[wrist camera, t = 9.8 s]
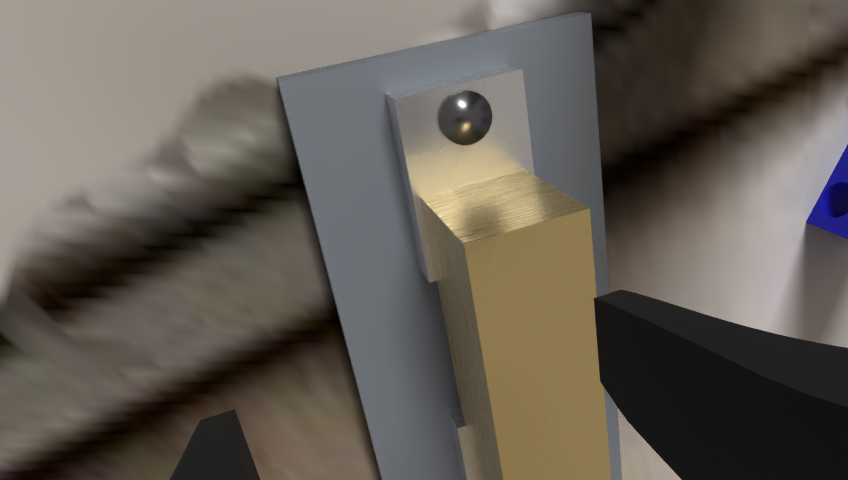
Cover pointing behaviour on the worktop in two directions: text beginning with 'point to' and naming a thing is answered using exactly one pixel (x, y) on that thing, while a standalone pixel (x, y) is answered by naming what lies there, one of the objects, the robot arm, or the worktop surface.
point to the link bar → (522, 327)
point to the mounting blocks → (458, 157)
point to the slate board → (390, 224)
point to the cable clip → (834, 201)
